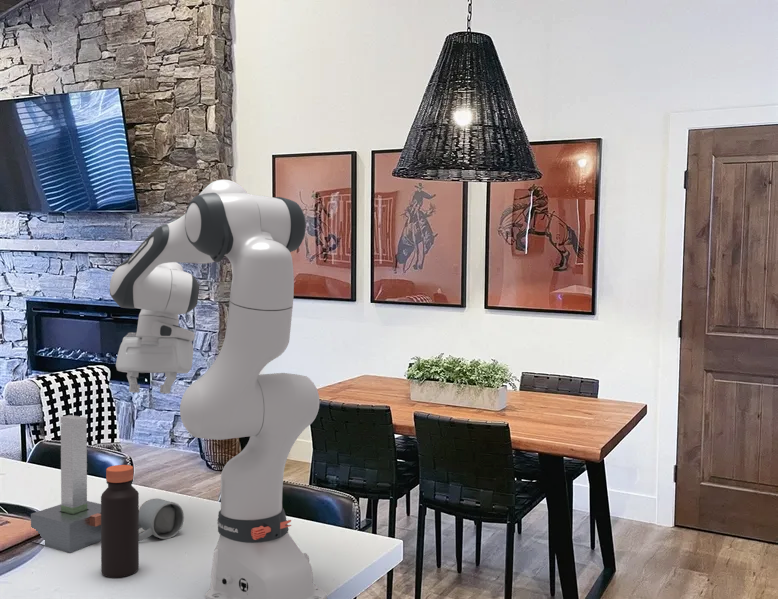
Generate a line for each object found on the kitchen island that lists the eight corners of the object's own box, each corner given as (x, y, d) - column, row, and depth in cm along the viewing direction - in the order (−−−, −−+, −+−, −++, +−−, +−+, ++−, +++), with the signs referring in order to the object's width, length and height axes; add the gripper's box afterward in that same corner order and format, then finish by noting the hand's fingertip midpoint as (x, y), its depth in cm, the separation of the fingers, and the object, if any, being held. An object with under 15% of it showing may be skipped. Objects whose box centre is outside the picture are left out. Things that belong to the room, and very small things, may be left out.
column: (89, 516, 165) (89, 417, 164) (75, 521, 162) (74, 420, 161) (73, 512, 168) (72, 414, 167) (58, 517, 164) (57, 417, 163)
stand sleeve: (121, 536, 167) (121, 508, 166) (75, 554, 156) (74, 524, 156) (78, 525, 173) (78, 497, 173) (31, 541, 163) (30, 512, 162)
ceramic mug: (165, 525, 174) (164, 491, 174) (184, 534, 168) (184, 499, 168) (120, 537, 166) (120, 502, 166) (140, 547, 161) (139, 511, 160)
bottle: (122, 561, 153) (122, 461, 152) (146, 569, 149) (146, 466, 148) (93, 573, 147) (93, 469, 146) (117, 581, 143) (117, 474, 142)
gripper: (113, 330, 178) (105, 390, 175) (180, 328, 168) (172, 392, 166) (134, 334, 183) (126, 393, 181) (200, 333, 174) (192, 395, 171)
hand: (149, 392), depth 173 cm, fingers open, 8 cm apart
